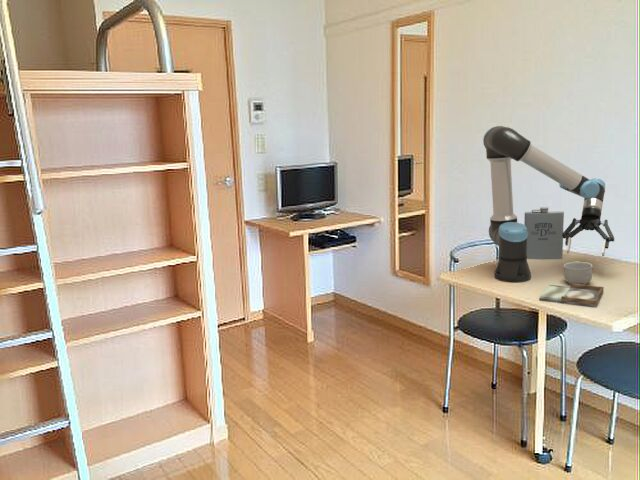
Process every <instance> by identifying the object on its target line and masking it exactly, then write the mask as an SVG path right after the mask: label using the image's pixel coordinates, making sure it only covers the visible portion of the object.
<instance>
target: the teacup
mask: <svg viewBox="0 0 640 480" xmlns="http://www.w3.org/2000/svg"><path fill="white" fill-rule="evenodd" d="M593 267H594V266H593V264H592V263H590V262H587V261H579V260H575V261H569V262H566V263H564V264H563V271H564V272H563V274H564V275H563V276H564V279H565V281H566V282H567V283H569V285H570V284H581V285H588V283H590V282H591V280H593V279H592V278H593Z"/></svg>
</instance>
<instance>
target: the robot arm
mask: <svg viewBox="0 0 640 480" xmlns="http://www.w3.org/2000/svg"><path fill="white" fill-rule="evenodd" d="M482 141H483V146H484V149H485V151H486V154H485V156H486V160H487V161H489V163H490V174H491V175H490V178H491V193H492V194H491V195H492V197H491V199H492V213H493V214H491V217H490V218H489V221H490V223H489V224H490V225H489V227H488V235H489V238H490V239H491V241H492V242H493V243H494V244H495V245H497V247H498V261H497V264H496V267H495V270H494V279H496V280H497V281H501V282H507V283H521V282H527V281H530V279H532V273H531V269H530V266H529V262H528V259H527V237H528V232H527V227H526V226H525V225H524V223H519V222H518V216H517V215H516V214H515V213H514V203H513V202H514V201H513V199H514V198H513V178H512V162H511V161H512V160H514V161H516V162H521V163H524V164H525V165H528V166H529V167H531V168H532V169H534V170H536V171H538V172H539V173H541V174H543V175H545V176H546V177H548V178H549V179H551V180H553V181H554V182H556V183H558V184H559V188H561V189H563V190H564V191H567V192H570V193H572V194H574V195H577V196H579V197H581V198H583V199H584V200H583V204H582V205H583V206H582V212H581V217H580V219H577V218H575V217H574V218H572V221H571V223H570V224H569V225H568V227H566V229H565V230H563V234H562V237H563V239H565V242H564V244H565V247H566V253H567V254H570V251H571V245H572V238H574V237H575V236H576V235H577V234H580V232H582V231H584V230H585V231H595V232H597V233H598V234H599V236H600V237H601V238H602V239H603V242H602V250H601V255H602V257H604V256H605V254H606V249H609V245H610V242H615V237H614V234H613V232H612V230H611V228H610V226H609V222H608V219H604V220H601V216H602V210H603V206H604V205H603V204H604V198H605V193H606V182H605V181H603V180H602V179H601V178H595V177H594V178H590V179H589V178H588V177H586V176H584V175H582V174H581V173H580V172H577V171H576V170H574V169H573V168H570V167H569V166H568V165H565V164H564V163H563V162H561V161H559V160H557V159H556V158H554V157H552V156H551V155H549V154H548V153H546V152H544V151H542V150H541V149H539V148H538V147H536V146H534V145H533V144H532V141H531V140H529V139H527V138H526V137H524V136H522V134H520V133H519V132H518V131H516V130H514V129H513V128H511V127H506V126H503V125H496V126H492V127H491V128H489V129H487V131H486V132H485V133H484V136H483V139H482ZM577 225H578V226H577ZM601 225H602V227H604V228H605V231H606V233H605V232H604V231H603V229H602V228H601V227H600V226H601ZM576 226H577V227H576Z"/></svg>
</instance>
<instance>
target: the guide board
mask: <svg viewBox="0 0 640 480" xmlns="http://www.w3.org/2000/svg"><path fill="white" fill-rule="evenodd" d="M603 294H604V286H598V285H590V284H585V285H581V284H570V283H569V286H566V285H556V284H548V286H547V287H546V288H545V289H544V291H543V292H542V293H541V295H540V296H539V298H538V301H542V302H547V303H548V302H549V303H556V302H557V304H564V303H565V305H573V306H574V305H575V306H582V307H587V308H588V307H590V308H597V307H598V304H599V303H600V300H601V299H602V296H603Z"/></svg>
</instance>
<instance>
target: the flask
mask: <svg viewBox="0 0 640 480" xmlns="http://www.w3.org/2000/svg"><path fill="white" fill-rule="evenodd" d="M564 217H565V211H561V210H559V211H549V207H548V206H542V207H540V208H537V209H531V211H525V212H524V220H523V221H524V223H523V225H525V226H526V227H527V232H528V237H527V260H562V259H563V255H564V254H563V253H564V252H563V251H564V250H563V249H564V238H563V237H562V234H563V232H564V220H565V219H564Z"/></svg>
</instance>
